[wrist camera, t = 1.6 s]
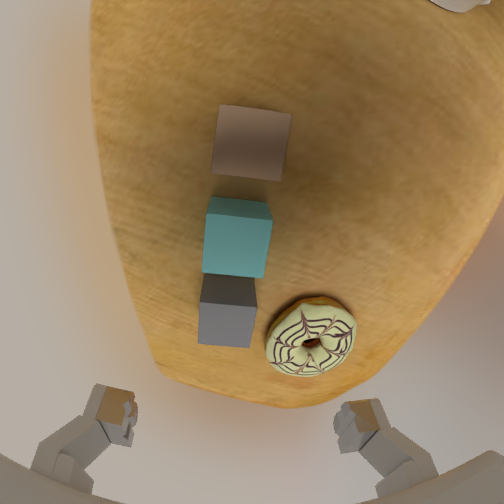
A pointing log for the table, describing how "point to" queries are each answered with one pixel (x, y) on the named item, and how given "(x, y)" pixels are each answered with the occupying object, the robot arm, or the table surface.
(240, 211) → the teal cube
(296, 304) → the decorated donut
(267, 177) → the walnut cube
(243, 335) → the charcoal cube
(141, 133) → the table surface
